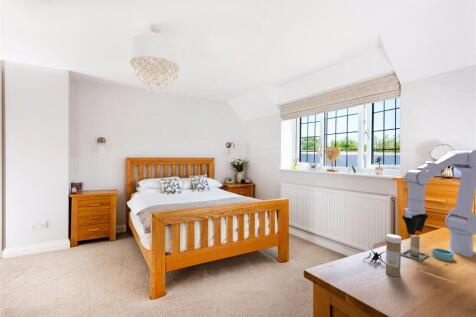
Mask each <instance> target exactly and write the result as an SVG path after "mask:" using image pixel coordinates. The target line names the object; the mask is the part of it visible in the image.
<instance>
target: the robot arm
mask: <svg viewBox="0 0 476 317" xmlns="http://www.w3.org/2000/svg"><path fill="white" fill-rule="evenodd" d="M449 166H452V167H453V168H454V169H456V170H458V171H459V172H460V173H461V174H460V175H461V176H460V179H459V186H458V191H457V196H456V197H457V198H456V203H455V207H454V208H453V209H451V210H449V211H448V213H447V216H446V218H445V219H444V222H445V227H446V228H448V231H449V248H447V250H449V251H451V252H453V253H454V254H457V255H461V256H464V257H469V258H471V257H472V256H474V255H475V254H476V251H475V250H474V241H475V240H474V236H475V234H476V214H475V213H474V212H473V208H474V207H473V206H474V201H475V200H474V199H475V196H476V149H475V150H474V149H473V150H456V149H452V150H450V151H448V152H447V151H446V154H445V155H444V156H442V157H441V158H440V159H438V160H436V161H426V162H425V164H423V165H421V166H418V167H416V168H415V169H410V170H408V171H407V172H406V173H405V175H404V177H403V178H404V181H405V183H406V186H407V205H406V206H407V207H404V208H403V211H405V214H404V215H402V216H401V217H402V220H403V223H404V224H405V226H406V227H405V228H406V231H407V234H408V235H410V236H411V235H416V231H417V232H423V229H424V226H425V223H426V222H427V220H428V218H429V214H426V207H425V204H426V185H428V184H429V182H430V180H431V179H432V178H434V177H436V176H437V175H440V173H441V172H442V170H443V169H445V168H447V167H449Z"/></svg>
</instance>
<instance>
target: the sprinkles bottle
mask: <svg viewBox="0 0 476 317" xmlns="http://www.w3.org/2000/svg"><path fill="white" fill-rule="evenodd" d="M402 238H403V237H401V236H400V235H397V234H392V233H388V234H386V236H385V240H386V248H385V249H386V250H385V251H386V252H385V253H386V254H385V273H386V274H387V275H389V276H391V277H401V266H402V264H401V262H402V259H401V257H402V256H401V253H402V251H401V250H402Z"/></svg>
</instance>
